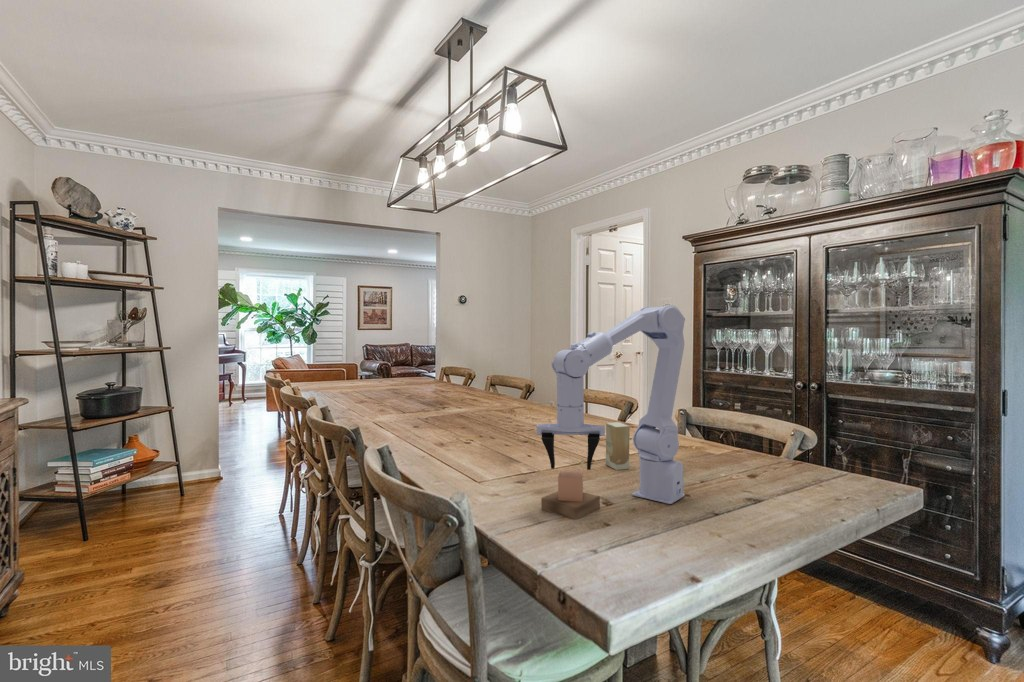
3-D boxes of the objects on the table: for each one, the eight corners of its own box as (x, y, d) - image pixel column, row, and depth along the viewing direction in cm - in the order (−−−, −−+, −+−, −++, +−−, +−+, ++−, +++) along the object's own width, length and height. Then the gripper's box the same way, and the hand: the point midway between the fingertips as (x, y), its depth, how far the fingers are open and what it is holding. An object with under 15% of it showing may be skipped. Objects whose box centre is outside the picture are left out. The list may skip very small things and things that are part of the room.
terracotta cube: (582, 493, 108) (582, 471, 108) (582, 501, 103) (582, 477, 103) (560, 492, 109) (560, 470, 109) (558, 500, 104) (558, 476, 104)
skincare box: (605, 464, 142) (604, 422, 141) (618, 463, 143) (618, 421, 143) (616, 470, 135) (616, 426, 135) (630, 469, 137) (630, 425, 137)
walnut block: (599, 510, 107) (599, 496, 107) (576, 522, 100) (576, 507, 100) (565, 501, 113) (565, 487, 113) (541, 511, 106) (541, 498, 106)
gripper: (603, 403, 109) (604, 464, 109) (538, 402, 111) (538, 462, 111) (605, 407, 102) (605, 473, 102) (535, 407, 104) (536, 470, 104)
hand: (570, 468), depth 106 cm, fingers open, 7 cm apart
